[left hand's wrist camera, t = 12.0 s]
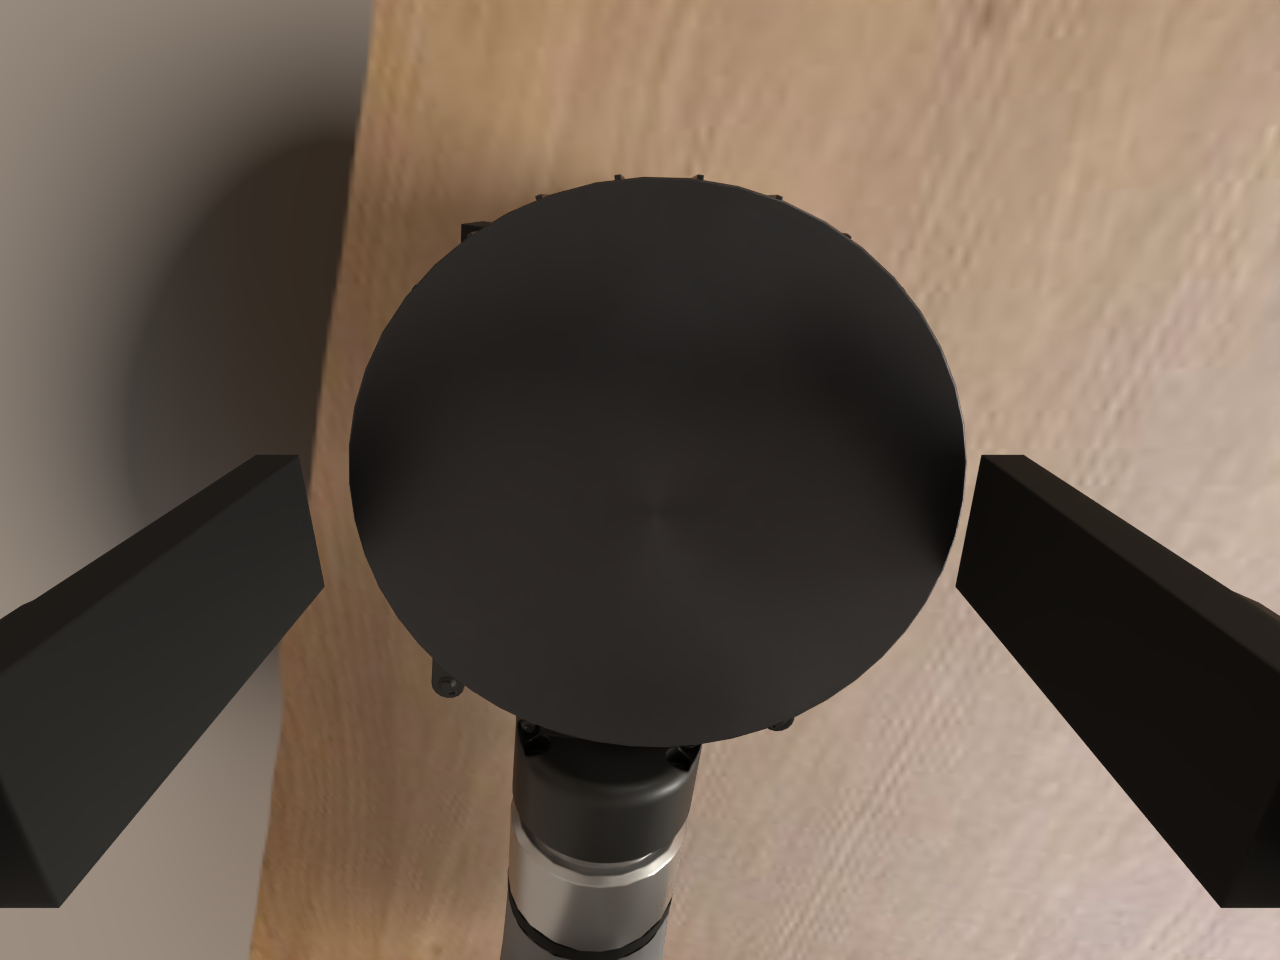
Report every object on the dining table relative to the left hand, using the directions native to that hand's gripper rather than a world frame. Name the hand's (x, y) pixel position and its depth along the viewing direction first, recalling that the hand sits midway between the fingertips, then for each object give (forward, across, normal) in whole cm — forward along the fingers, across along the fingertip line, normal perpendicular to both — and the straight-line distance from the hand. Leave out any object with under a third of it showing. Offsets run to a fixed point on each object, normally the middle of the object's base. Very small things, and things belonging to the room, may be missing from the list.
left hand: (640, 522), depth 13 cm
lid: (+1, 0, 0) cm, 1 cm away
